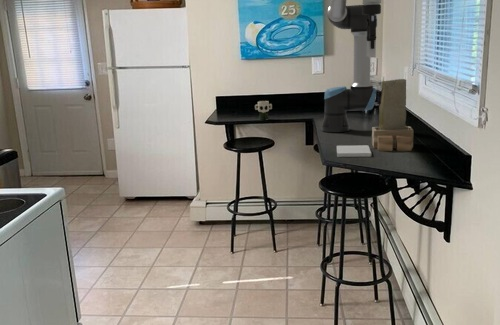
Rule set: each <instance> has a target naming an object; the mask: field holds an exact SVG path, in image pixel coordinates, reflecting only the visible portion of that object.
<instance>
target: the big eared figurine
mask: <svg viewBox="0 0 500 325" xmlns="http://www.w3.org/2000/svg"><path fill="white" fill-rule="evenodd" d="M272 109H273V104H272V103H270V102H269V100H259V101H257V104H255V105H254V110H255V111H258V112H259V116H258V117H259V118H258V120H259V119H260V120H259V121H267V120H266V119H268V118H269V113H268V112H269V111H270V110H272Z"/></svg>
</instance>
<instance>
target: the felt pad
mask: <svg viewBox="0 0 500 325" xmlns="http://www.w3.org/2000/svg"><path fill="white" fill-rule="evenodd" d="M336 156H337V158H347V157H349V158H351V157H352V158H355V157H356V158H359V157H365V158H369V157H370V158H371V157H372V150H371V148H370V147H369V144H368V145H366V144H365V145H364V144H363V145H360V144H359V145H356V144H355V145H336Z"/></svg>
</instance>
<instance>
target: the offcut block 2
mask: <svg viewBox="0 0 500 325" xmlns="http://www.w3.org/2000/svg"><path fill="white" fill-rule="evenodd" d="M395 149H396V151H400V152H401V151H410V152H411V151H412V150H413V148H412V137H411V135H401V136H396V148H395Z"/></svg>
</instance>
